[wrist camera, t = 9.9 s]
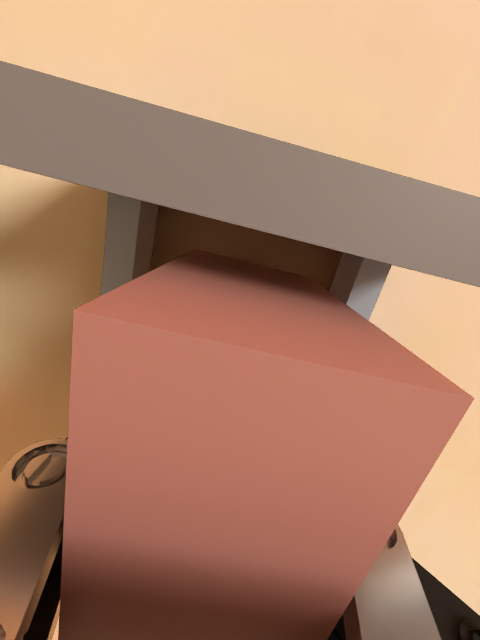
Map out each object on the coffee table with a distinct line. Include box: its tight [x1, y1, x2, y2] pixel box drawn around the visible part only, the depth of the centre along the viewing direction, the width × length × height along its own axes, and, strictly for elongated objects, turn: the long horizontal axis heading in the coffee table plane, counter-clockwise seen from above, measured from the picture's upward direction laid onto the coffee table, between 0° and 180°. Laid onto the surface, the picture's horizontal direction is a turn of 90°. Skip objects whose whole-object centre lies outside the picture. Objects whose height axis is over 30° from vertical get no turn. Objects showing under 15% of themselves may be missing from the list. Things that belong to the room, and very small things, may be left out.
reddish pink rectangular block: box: [58, 249, 474, 640], centre depth 8 cm, size 4×10×7 cm, turn 166°
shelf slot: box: [0, 61, 480, 320], centre depth 9 cm, size 11×11×7 cm
